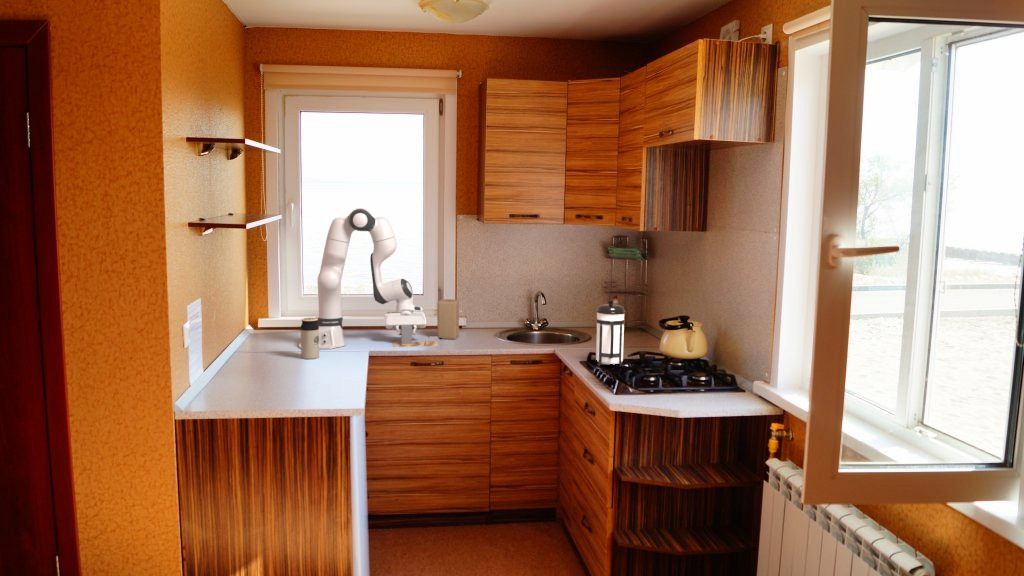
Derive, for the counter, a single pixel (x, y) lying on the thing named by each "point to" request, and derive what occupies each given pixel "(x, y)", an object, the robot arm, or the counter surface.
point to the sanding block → (406, 334)
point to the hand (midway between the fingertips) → (406, 334)
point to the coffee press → (610, 333)
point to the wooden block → (448, 319)
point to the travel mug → (309, 338)
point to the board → (416, 344)
